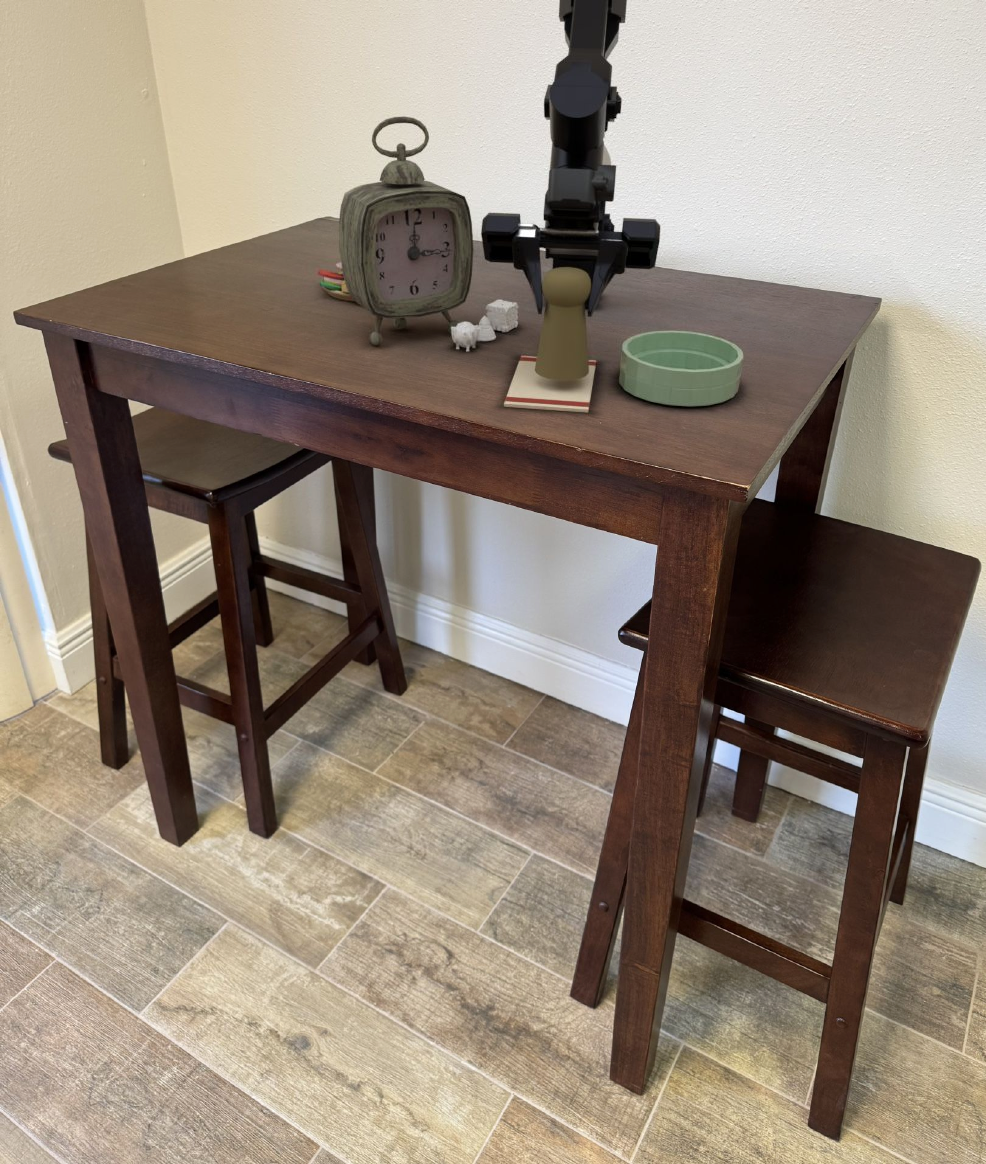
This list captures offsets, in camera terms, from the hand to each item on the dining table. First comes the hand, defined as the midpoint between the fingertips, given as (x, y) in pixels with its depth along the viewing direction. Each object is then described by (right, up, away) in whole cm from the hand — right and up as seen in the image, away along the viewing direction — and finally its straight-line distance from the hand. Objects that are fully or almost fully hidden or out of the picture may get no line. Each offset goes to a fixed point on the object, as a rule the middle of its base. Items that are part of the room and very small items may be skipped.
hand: (564, 313), depth 99 cm
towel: (-1, -6, +7) cm, 9 cm away
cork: (0, -5, +5) cm, 7 cm away
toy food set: (-26, +13, +36) cm, 46 cm away
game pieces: (-9, +2, +20) cm, 21 cm away
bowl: (+13, -6, +7) cm, 16 cm away
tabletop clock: (-19, +3, +21) cm, 28 cm away
